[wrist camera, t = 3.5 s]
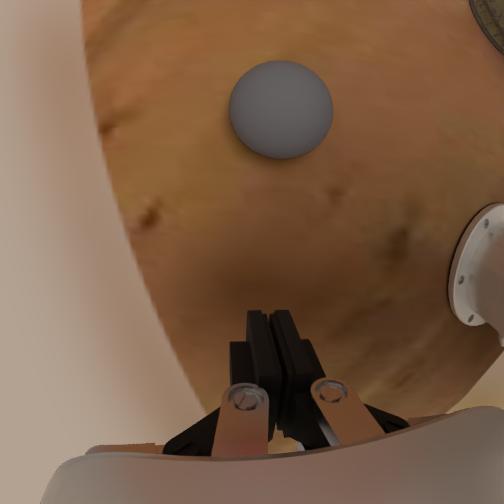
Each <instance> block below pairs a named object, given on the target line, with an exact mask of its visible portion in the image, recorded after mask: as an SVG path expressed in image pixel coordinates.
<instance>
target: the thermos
mask: <svg viewBox="0 0 504 504" xmlns="http://www.w3.org/2000/svg"><path fill="white" fill-rule="evenodd" d="M469 3H470V7H471V9H472V12H473V14H474V16H475V18H476V20H477V22H478V24H479V26H480V27H481V29H482V30H483V32H484V33H485V35H486V36H487V38H488V39H489V40H490V41H491V43H492V44H493V45H494V46H495V47H496V48H497V49H498V50H499V51H500V52H501V53H502V54H504V0H469Z"/></svg>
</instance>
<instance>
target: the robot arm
mask: <svg viewBox="0 0 504 504" xmlns="http://www.w3.org/2000/svg"><path fill="white" fill-rule="evenodd" d="M448 292H449V302H450V307H451V309H452V311H453V313H454V315H455V316H456V317H457V318H458V319H459V320H460V321H462V322H463V323H464V324H466V325H469V326H478V325H481V324H484V323H486V322H487V323H489V324H490V325H491V326H492V327H493V328H495V329H496V330H497V331H498V337H499V344H500V345H501V346H502V347H504V203H495V204H491V205H489V206H487V207H486V208H484V209H483V210H482V211H481V212H480V213H478V214H477V215H476V216H475V218H474V219H473V220H472V222H471V223H470V224H469V226H468V227H467V229H466V231H465V233H464V234H463V236H462V238H461V240H460V243H459V245H458V247H457V250H456V253H455V256H454V259H453V262H452V266H451V271H450V276H449V285H448ZM275 423H276V425H277V429H278V431H279V430H283V435H284V438H286V437H291V438H293V439H294V440H296V441H297V447H298V450H299V451H298V452H290V453H280V454H269V455H267V453H268V442H269V441H270V440H272V438H273V432H274V429H275ZM40 504H504V410H503V409H501V408H498V407H493V406H478V407H473V408H467V409H463V410H459V411H456V412H453V413H450V414H442V415H435V416H427V417H418V418H409V419H408V420H407V421H405V420H404V419H402V418H400V417H398V416H395V415H392V414H390V413H387V412H384V411H382V410H379V409H376V408H374V407H371V406H369V405H366V404H364V403H362V401H361V400H360V399H359V397H358V396H357V395H356V393H355V392H354V391H353V389H352V388H351V387H350V386H349V385H348V384H347V383H346V382H345V381H343V380H341V379H338V378H333V377H326V375H325V373H324V371H323V369H322V366H321V364H320V362H319V360H318V358H317V355H316V353H315V351H314V349H313V346H312V344H311V342H310V340H308V339H302V340H301V339H300V336H299V334H298V332H297V329H296V327H295V324H294V322H293V319H292V317H291V315H290V312H289V310H275V311H274V314H270V315H269V322H268V318H267V314H262V312H261V310H249V311H247V328H246V341H242V342H230V387H229V388H228V389H227V390H226V391H225V392H224V394H223V397H222V403H221V406H220V407H219V408H218V409H216V410H215V411H213V412H212V413H210V414H209V415H207V416H206V417H204V418H203V419H202V420H200V421H199V422H197V423H196V424H194V425H193V426H191V427H190V428H188V429H187V430H185V431H183V432H182V433H180V434H179V435H177V436H176V437H174V438H172V439H171V440H170V441H168V442H167V443H166V444H165V445H157V446H156V445H155V443H146V444H128V445H98V446H94V447H92V448H91V449H89V450H88V451H87V452H86V453H85V455H83V456H79V457H75V458H72V459H70V460H68V461H66V462H64V463H63V464H62V465H61V466H59V468H58V469H57V470H56V471H55V473H54V474H53V476H52V478H51V479H50V481H49V483H48V485H47V488H46V490H45V492H44V495H43V497H42V500H41V503H40Z"/></svg>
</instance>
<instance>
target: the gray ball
mask: <svg viewBox="0 0 504 504" xmlns="http://www.w3.org/2000/svg"><path fill="white" fill-rule="evenodd" d="M229 115H230V120H231V123H232V126H233V128H234V130H235V132H236V134H237V135H238V137H239V138H240V139H241V141H242V142H243V143H244V144H245V145H247V146H248V147H249V148H250V149H252V150H253V151H255V152H257V153H259V154H261V155H264V156H267V157H271V158H277V159H289V158H294V157H298V156H301V155H303V154H306V153H308V152H309V151H311V150H313V149H314V148H315V147H316V146H318V145H319V144H320V143H321V141H322V140H323V139H324V138H325V136H326V135H327V133H328V131H329V129H330V126H331V123H332V118H333V103H332V99H331V96H330V93H329V91H328V89H327V87H326V85H325V84H324V82H323V81H322V80H321V79H320V78H319V76H317V75H316V74H315V73H314V72H313V71H311V70H310V69H308V68H306V67H305V66H303V65H300V64H297V63H294V62H290V61H270V62H266V63H262V64H260V65H257V66H255V67H254V68H252V69H250V70H249V71H248V72H246V73H245V74H244V75H243V76H242V77H241V78H240V79H239V81H238V82H237V83H236V85H235V87H234V89H233V91H232V94H231V97H230V102H229Z"/></svg>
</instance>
